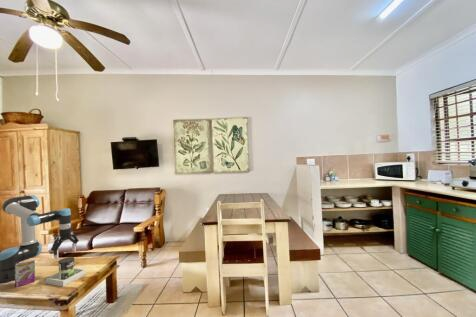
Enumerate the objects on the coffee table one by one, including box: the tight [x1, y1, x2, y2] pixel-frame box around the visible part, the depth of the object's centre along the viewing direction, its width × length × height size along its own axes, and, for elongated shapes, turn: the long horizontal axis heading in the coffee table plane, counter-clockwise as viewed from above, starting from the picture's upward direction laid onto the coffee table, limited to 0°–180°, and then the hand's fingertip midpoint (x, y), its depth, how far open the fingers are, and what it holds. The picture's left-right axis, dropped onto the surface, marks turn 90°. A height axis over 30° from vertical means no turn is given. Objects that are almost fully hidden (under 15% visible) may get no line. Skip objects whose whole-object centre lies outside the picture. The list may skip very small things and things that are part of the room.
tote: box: [45, 267, 87, 287], centre depth 180 cm, size 18×18×4 cm
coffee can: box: [57, 256, 75, 280], centre depth 180 cm, size 10×10×14 cm
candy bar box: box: [14, 259, 36, 288], centre depth 174 cm, size 11×5×16 cm, turn 131°
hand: (65, 254), depth 180 cm, fingers open, 13 cm apart
